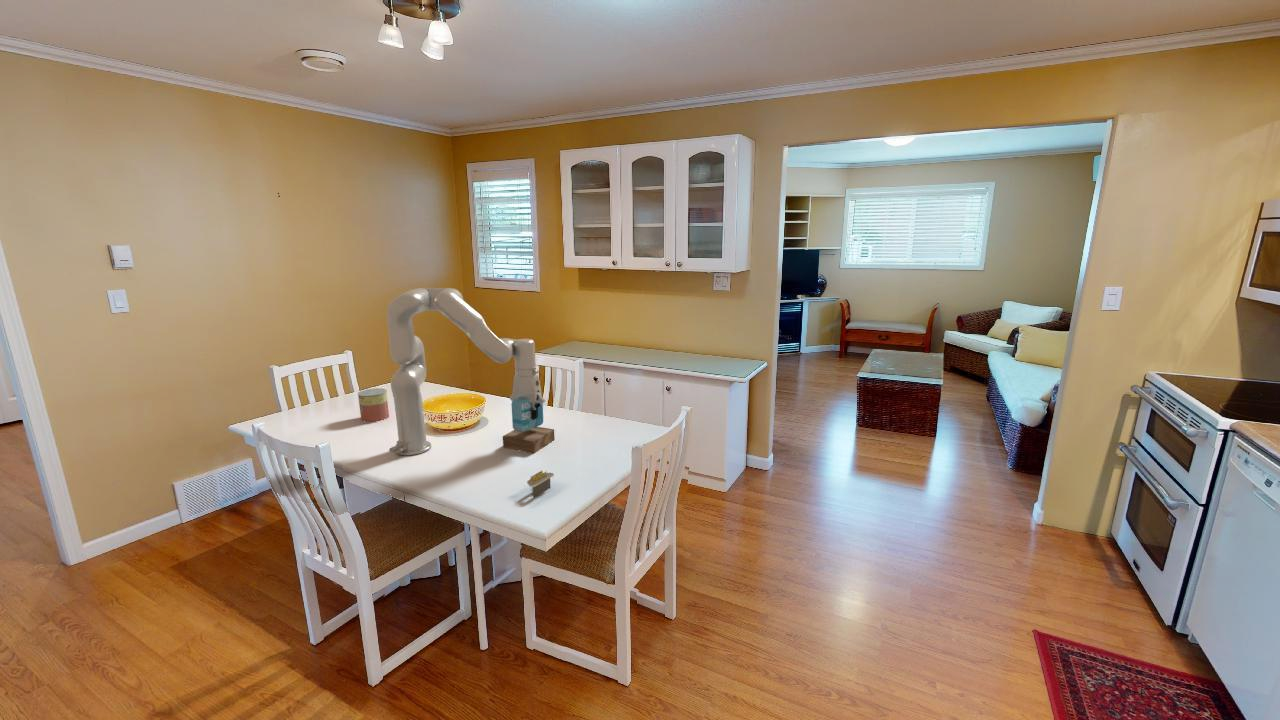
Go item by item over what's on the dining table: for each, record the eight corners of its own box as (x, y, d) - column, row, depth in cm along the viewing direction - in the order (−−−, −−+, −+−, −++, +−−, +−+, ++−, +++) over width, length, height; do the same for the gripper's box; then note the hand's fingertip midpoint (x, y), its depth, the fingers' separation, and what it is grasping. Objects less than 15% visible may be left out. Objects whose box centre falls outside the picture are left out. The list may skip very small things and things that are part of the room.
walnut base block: (534, 454, 204) (533, 441, 203) (503, 448, 209) (502, 436, 208) (554, 441, 216) (554, 429, 215) (524, 436, 222) (524, 424, 220)
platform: (505, 500, 170) (504, 480, 168) (544, 477, 185) (543, 459, 183) (535, 509, 164) (534, 489, 162) (572, 486, 179) (572, 467, 177)
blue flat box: (520, 433, 205) (519, 402, 202) (512, 430, 208) (510, 400, 205) (543, 424, 215) (542, 394, 212) (535, 421, 217) (534, 392, 214)
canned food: (361, 416, 244) (358, 390, 241) (389, 412, 249) (386, 387, 246) (360, 424, 234) (357, 397, 231) (389, 420, 239) (386, 393, 236)
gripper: (550, 371, 206) (552, 417, 211) (511, 367, 212) (514, 412, 216) (540, 376, 200) (542, 423, 204) (500, 372, 205) (503, 418, 210)
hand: (527, 417), depth 210 cm, fingers closed on blue flat box, 5 cm apart
